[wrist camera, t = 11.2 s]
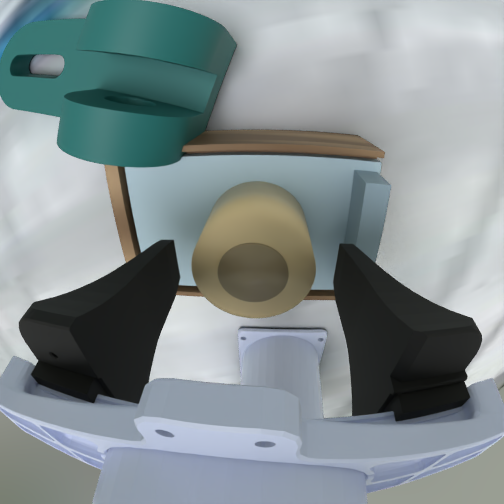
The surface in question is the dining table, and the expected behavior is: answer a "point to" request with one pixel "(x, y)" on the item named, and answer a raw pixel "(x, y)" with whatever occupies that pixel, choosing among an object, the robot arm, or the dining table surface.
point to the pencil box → (237, 143)
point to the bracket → (122, 79)
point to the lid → (272, 171)
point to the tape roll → (255, 252)
